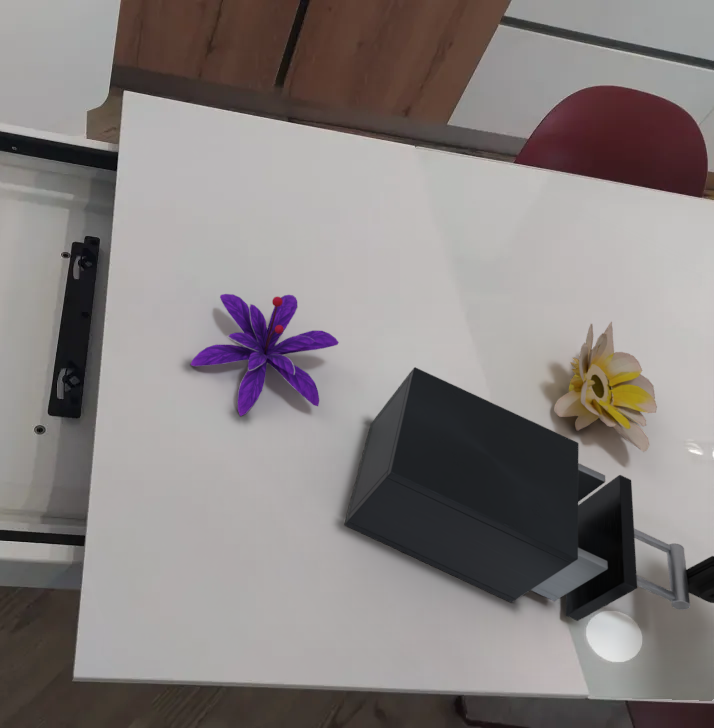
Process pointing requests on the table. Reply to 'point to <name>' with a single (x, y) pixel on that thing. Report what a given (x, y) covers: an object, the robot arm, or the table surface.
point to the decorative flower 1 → (265, 348)
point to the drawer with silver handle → (610, 552)
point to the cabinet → (468, 488)
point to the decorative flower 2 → (608, 390)
